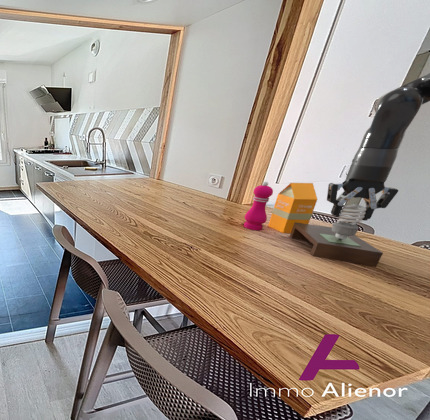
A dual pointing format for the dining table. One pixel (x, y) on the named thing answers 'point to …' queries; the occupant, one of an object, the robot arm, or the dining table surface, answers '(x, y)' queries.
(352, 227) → the light bulb
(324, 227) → the shelf
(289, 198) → the orange juice
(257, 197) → the pepper mill
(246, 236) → the dining table surface
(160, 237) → the dining table surface
